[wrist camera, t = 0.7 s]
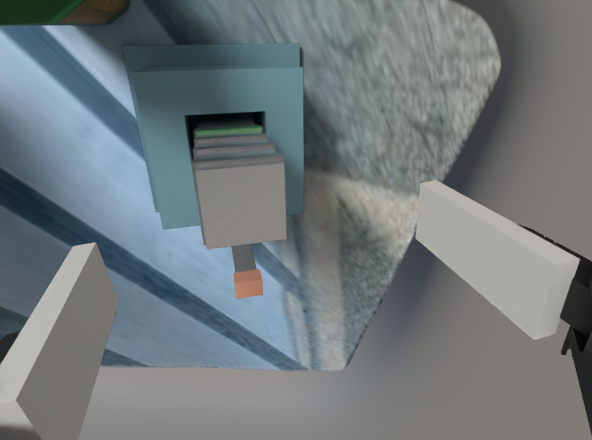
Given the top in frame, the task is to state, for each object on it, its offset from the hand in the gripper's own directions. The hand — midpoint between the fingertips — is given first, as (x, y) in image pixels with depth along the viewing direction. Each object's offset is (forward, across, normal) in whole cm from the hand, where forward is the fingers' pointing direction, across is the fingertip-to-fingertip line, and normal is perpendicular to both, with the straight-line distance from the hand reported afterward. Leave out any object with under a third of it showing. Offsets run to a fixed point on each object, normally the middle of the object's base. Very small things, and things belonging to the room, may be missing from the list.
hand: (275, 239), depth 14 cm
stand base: (+30, 0, -2) cm, 30 cm away
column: (+29, 0, -2) cm, 29 cm away
